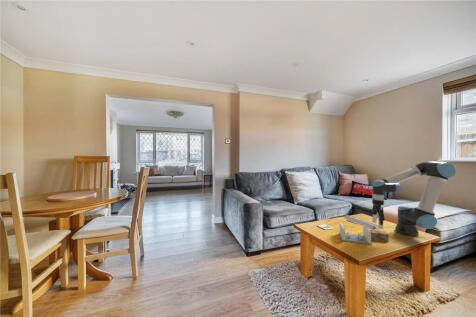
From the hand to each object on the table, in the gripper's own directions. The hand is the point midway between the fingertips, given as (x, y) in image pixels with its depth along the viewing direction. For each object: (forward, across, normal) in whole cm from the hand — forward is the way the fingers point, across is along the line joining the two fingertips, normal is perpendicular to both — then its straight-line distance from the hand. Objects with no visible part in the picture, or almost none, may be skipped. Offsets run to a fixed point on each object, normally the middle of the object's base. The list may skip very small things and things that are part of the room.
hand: (377, 225), depth 149 cm
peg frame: (+12, +6, -18) cm, 22 cm away
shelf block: (+11, 0, 0) cm, 11 cm away
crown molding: (+12, -37, -2) cm, 39 cm away
